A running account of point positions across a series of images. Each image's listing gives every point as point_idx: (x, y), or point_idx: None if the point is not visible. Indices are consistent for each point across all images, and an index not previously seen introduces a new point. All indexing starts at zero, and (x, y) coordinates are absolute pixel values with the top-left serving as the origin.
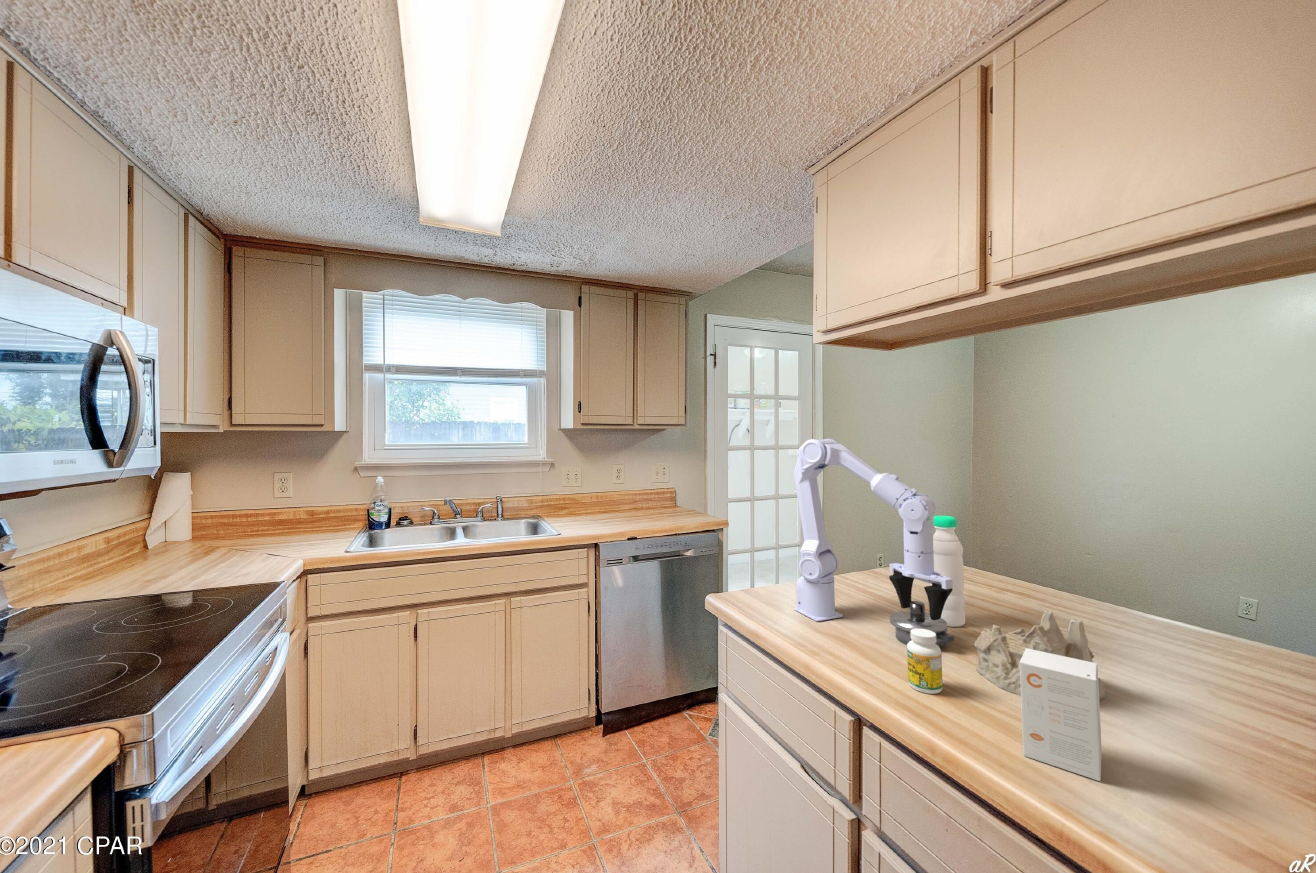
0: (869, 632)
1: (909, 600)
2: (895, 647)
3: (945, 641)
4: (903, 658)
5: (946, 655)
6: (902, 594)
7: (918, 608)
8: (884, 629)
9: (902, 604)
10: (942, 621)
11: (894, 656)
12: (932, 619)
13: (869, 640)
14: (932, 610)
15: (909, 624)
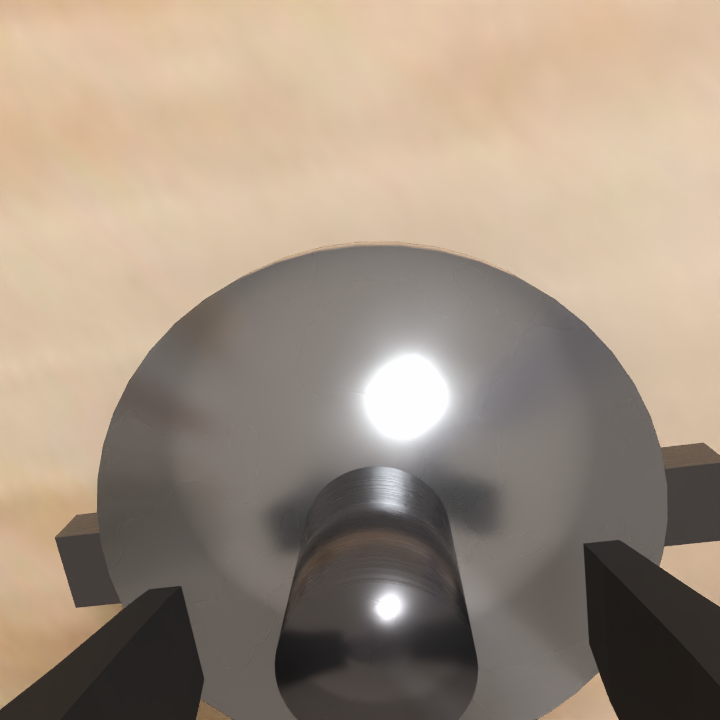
0: (669, 157)
1: (625, 705)
2: (311, 169)
3: (94, 513)
4: (103, 83)
5: (101, 447)
6: (680, 681)
7: (291, 592)
8: (671, 339)
9: (606, 562)
10: (270, 708)
11: (151, 30)
12: (154, 589)
13: (510, 29)
14: (68, 658)
15: (281, 358)
